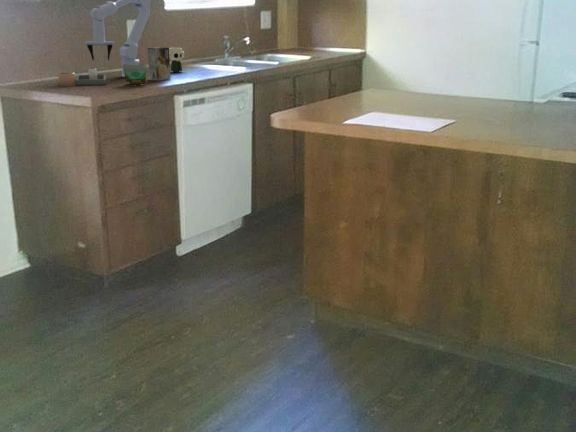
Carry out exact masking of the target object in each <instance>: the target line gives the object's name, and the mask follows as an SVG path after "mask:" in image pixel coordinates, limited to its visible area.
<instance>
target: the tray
mask: <svg viewBox="0 0 576 432" xmlns="http://www.w3.org/2000/svg"><path fill="white" fill-rule="evenodd" d="M97 78H98V80H89V74H77V75H76V86H106V85H107V75H106V74H97Z"/></svg>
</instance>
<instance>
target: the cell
mask: <svg viewBox="0 0 576 432" xmlns="http://www.w3.org/2000/svg"><path fill="white" fill-rule="evenodd" d="M88 75H89V80H98V78H97V75H98V68H96V67H94V66H91V67H90V68H88Z"/></svg>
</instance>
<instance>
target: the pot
mask: <svg viewBox="0 0 576 432" xmlns="http://www.w3.org/2000/svg"><path fill="white" fill-rule="evenodd" d="M57 77H58V87H76V86H77V85H76V78H77V76H76V71H60V72H57Z"/></svg>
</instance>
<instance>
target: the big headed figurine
mask: <svg viewBox="0 0 576 432" xmlns="http://www.w3.org/2000/svg"><path fill="white" fill-rule="evenodd" d="M168 48H169V60H170V61H171V62H170V72H173V73H180V72H183V66H182V62H181V61H182V60H183V58H185V51H184V50H183V48H182V47H168Z"/></svg>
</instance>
